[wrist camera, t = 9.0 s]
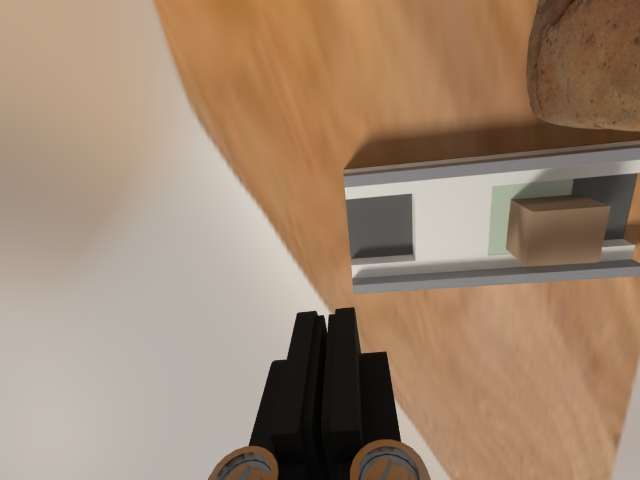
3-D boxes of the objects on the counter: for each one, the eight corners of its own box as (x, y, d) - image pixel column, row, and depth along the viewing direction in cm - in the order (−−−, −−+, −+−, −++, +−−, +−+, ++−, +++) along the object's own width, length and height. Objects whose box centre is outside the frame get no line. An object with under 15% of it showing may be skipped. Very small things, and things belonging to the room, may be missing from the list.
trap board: (343, 169, 34) (343, 176, 31) (640, 140, 31) (675, 144, 28) (352, 277, 38) (353, 294, 35) (614, 259, 36) (642, 275, 32)
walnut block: (510, 199, 32) (532, 212, 28) (579, 194, 32) (610, 206, 28) (505, 248, 34) (525, 266, 30) (570, 244, 33) (599, 262, 30)
